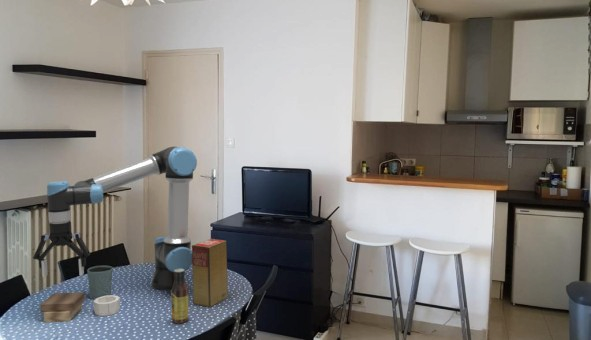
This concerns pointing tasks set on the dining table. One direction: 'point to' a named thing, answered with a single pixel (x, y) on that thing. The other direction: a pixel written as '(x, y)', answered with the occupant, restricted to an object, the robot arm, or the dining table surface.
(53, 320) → the light wooden block
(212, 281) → the food packaging
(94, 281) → the grey-green cup
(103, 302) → the bowl
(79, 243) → the robot arm
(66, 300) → the cover board
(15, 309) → the dining table surface
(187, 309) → the sauce bottle
